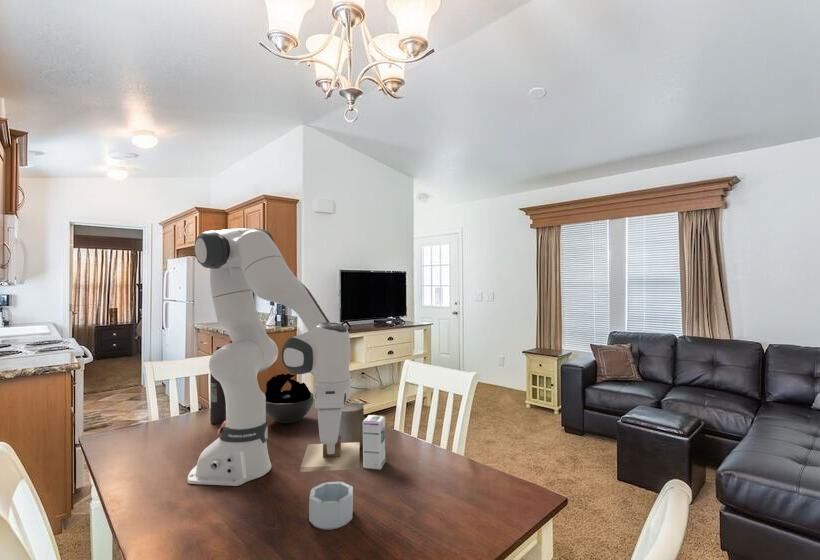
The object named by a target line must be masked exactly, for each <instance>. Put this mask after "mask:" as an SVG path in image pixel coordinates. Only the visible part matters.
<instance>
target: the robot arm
mask: <svg viewBox="0 0 820 560" xmlns="http://www.w3.org/2000/svg"><path fill="white" fill-rule="evenodd" d="M193 247H194V248H193V249H194V255H195V258H196V260H197V262H198V263H199V264H200V265H201V266H202V267H204V268H206V269H209V284H210V290H211V291H210V293H211V297H212V303H213V307H214V311H215V315H216V316H215V317H216V321H217V324H218V325H219V327H221V328H222V329H223V330H224V331H225V332H226V333H227V334H228V336H229V338H230V340H231V341H232V342H230V343H227V344H225V345H222V346H223V347H221V348H220V349H218V350H217V351H214V352H213V353H212V354H211V356H210V359H209V361H208V362H209V363H208V368H209V371H210V375H211V374H212V376H213V377H214V378H215V379H216V380H218V381H219V382H220V384H221V386H222V388H223V391H224V395H225V400H226V421H224V422H223V423H222V424H220V425H221V426H220V427H219V428H218V430H217V436H219V437H217V439H215V440H214V441H213V442H211V443H210V444H209V445H208V446H207V447H205V448H204V450H202V452H201V453H200V455H199V456H198V460H197V463H196V465H195V466H193V468H192V469H191V470H190V472H189V473H188V475H187V484H193V485H208V486H212V485H213V486H232V487H236V486H241V485H244V484H245V483H247V482H249V481H252V480H256V479H259V478H261V477H264V476H265V475H266V474H267V473H269V472H270V471H271V469H272V463H271V461H270V460H271V459H270V456H269V451H268V442H267V440H268V437H269V435H268V434H269V426H268V420H267V414H266V396H265V393H264V391H263V390H261V387H260V386H259V382H258V381H259V380H258V374H259V373H262V372H264V371H266V370H268V369H269V368H270V367H271V366H272V365H274V364H275V362H276V361H277V359H278V357H279V348H278V346H277V343H276V342H275V341H274V340H273V339H272V338H271V337H270V336H269V335H268V333H267V331H266V329H265V328H264V326H263V325H262V322H261V320H260V317H259V314H258V312H257V308H256V307H257V306H256V304H255V298H254V295H255V296H257V297H258V298H260V299H263V300H265V301H266V302H267V301H268V302H271V303H272V302H273V303H275V304H279V305H282V306H285V307H287V308H289V309H291V310H292V311H294V313H296V314H297V316H299V318H300V319H301V321H302V323H303V324H304V326H305V328H306V329H307V332H304V333H300V334H297V335H294V336H291V337H289V338H288V339H286V340H285V342H284V343H283V345H282V348H281V352H280V353H281V355H280V356H281V358H280V359H281V362H282V364H283V367H284V369H286V370H287V372H289V374H291V375H304V374H312V376H313V381H312V383H313V384H312V385H313V386H312V393H313V399H314V409H316V410H317V423H318V436H319V440H320V444H327V454H334V453H335V444H336V443H337V440H338V434H339V427H340V420H341V413H342V409H343V407H344V405H345V403H347V401H348V400H350V398H351V393H352V391H351V390H352V389H351V386H352V384H351V383H352V382H351V381H352V379H351V377H352V376H351V373H350V365H351V362H352V361H351V359H352V357H351V351H352V349H351V339H350V333H349V331H348V328H347V327H346V326H345V325H343V324H341V323H337V322H330V320H329V319H328V317H327V316H326V314H325V312H324V311H323V309H322V308H321V306H320V305H319V304H318V302H317V300H316V299H315V297H314V296H313V294H312V293H311V291H310V290H309V289H308V288H307V286H306V285H305V284H304V283H302V281H300V280H299V279H298V278H297V276H296V275H295V274H294V273H293V272H292V270H291V269H290V268H289V266H288V264H287V262H286V260H285V259H284V256H283V255H282V252H281V251H280V250H279V248H278V246H277V245H276V243H275V239H274V237H273V236H272V234H271V232H269V231H268V230H266V229H262V228H257V227H256V228H246V227H245V228H243V227H241V228H240V227H239V228H238V227H235V228H231V229H229V228H227V229H221V230H219V229H218V230H213V229H212V230H207V231H203V232H201V233H199V234H198V235H197V237H196V239H195V242H194V246H193ZM253 293H254V295H253Z"/></svg>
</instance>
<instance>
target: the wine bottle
mask: <svg viewBox="0 0 820 560" xmlns="http://www.w3.org/2000/svg"><path fill="white" fill-rule="evenodd" d="M223 346H224V345H217V346H216V351H217V350H218V349H220V348H221V347H223ZM209 382H210V389H209V391H210V392H209V393H210V395H209V396H210V401H209V403H210V405H209V406H210V407H209V409H210V412H209V414H210V416H209V417H210V420H209V421H210V424H213V425H222V423H223V422H224V421H226V400H225V395H224V391H223V388H222V386H221V384H220V382H219V381H218V380H216V379H215V378H214V377H213V376H212V374H211V373H210V381H209Z"/></svg>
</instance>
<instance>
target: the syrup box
mask: <svg viewBox="0 0 820 560" xmlns="http://www.w3.org/2000/svg"><path fill="white" fill-rule="evenodd" d="M386 449H387V447H386V416H385V415H381V414H380V415H379V414H378V415H377V414H368V415H367V417H366V418H364V421H363V448H362V467H363V469H370V470H382V468H383V466H384V465H385V463H386V461H387V460H386V459H387V458H386V457H387V455H386Z"/></svg>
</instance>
